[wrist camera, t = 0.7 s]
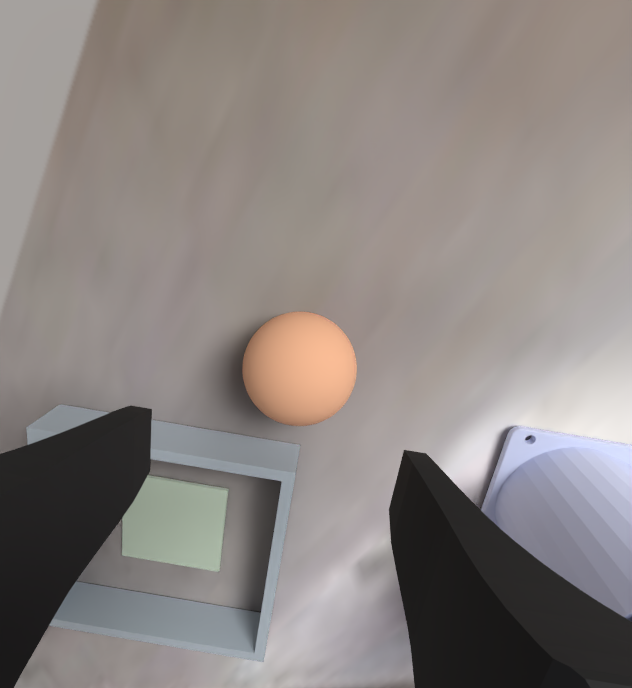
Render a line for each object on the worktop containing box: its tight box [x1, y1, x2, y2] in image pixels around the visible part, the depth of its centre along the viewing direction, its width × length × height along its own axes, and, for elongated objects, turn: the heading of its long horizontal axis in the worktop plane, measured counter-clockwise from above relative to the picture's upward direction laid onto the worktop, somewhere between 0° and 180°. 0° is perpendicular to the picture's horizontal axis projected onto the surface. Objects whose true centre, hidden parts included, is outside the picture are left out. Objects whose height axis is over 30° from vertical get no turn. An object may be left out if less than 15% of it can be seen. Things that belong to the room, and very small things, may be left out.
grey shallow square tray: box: [26, 404, 300, 662], centre depth 23 cm, size 13×13×2 cm
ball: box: [242, 312, 357, 426], centre depth 18 cm, size 5×5×5 cm
